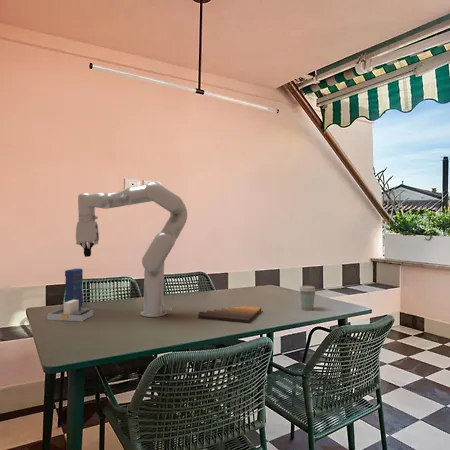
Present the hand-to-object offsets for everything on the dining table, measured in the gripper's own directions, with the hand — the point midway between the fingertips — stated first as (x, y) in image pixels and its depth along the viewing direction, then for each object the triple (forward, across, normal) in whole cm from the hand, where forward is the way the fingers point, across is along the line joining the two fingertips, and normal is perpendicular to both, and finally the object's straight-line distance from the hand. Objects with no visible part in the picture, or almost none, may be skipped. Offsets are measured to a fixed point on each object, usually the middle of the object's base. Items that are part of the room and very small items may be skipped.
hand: (87, 256), depth 185 cm
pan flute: (+31, -69, -9) cm, 76 cm away
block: (+28, +6, +7) cm, 29 cm away
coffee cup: (+32, -108, -27) cm, 116 cm away
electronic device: (+28, +15, -15) cm, 35 cm away
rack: (+28, +6, +7) cm, 29 cm away
